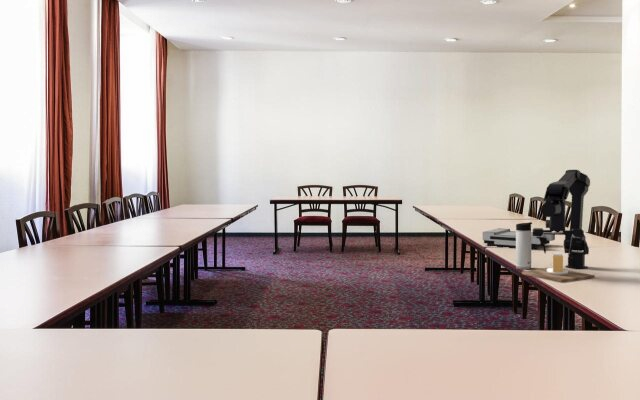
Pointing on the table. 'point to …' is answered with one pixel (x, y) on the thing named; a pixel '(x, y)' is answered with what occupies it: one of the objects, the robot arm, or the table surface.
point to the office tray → (510, 238)
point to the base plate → (558, 278)
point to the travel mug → (523, 246)
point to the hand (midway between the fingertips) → (557, 253)
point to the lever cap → (557, 265)
